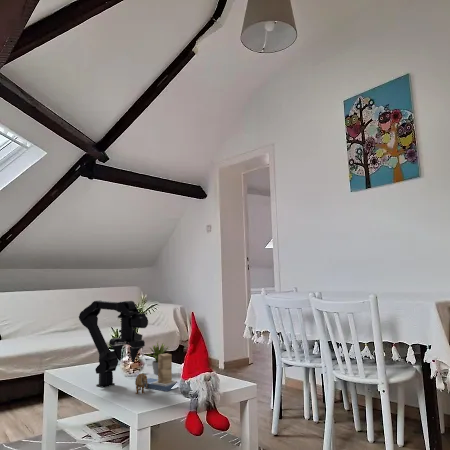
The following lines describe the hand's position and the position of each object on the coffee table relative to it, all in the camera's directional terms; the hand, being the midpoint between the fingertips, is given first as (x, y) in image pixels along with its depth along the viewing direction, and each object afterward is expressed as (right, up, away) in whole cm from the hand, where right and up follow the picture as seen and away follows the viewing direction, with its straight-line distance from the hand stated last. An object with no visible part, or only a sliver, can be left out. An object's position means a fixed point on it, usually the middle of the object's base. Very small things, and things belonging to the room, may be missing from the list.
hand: (126, 361), depth 190 cm
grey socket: (+19, -9, -3) cm, 21 cm away
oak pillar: (+19, -10, -3) cm, 21 cm away
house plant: (+11, -16, +27) cm, 33 cm away
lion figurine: (+9, -11, -9) cm, 17 cm away
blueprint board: (+15, -12, 0) cm, 19 cm away
